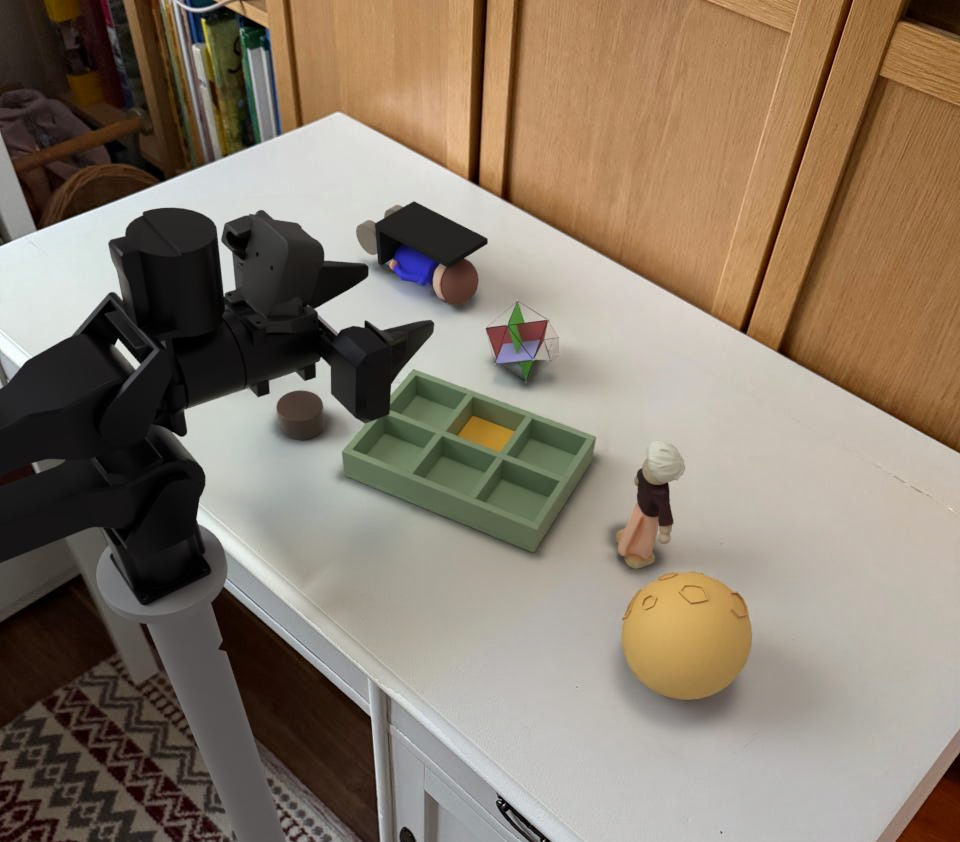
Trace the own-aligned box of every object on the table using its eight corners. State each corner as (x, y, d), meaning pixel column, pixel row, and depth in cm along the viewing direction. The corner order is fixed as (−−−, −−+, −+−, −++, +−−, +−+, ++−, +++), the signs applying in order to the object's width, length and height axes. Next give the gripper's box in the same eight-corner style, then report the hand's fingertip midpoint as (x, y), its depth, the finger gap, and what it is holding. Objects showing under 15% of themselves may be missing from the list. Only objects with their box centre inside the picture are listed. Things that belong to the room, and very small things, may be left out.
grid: (533, 553, 83) (536, 529, 81) (344, 475, 88) (341, 451, 85) (592, 460, 90) (596, 436, 88) (413, 393, 95) (413, 368, 92)
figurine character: (357, 277, 108) (452, 322, 101) (347, 212, 102) (447, 255, 95) (398, 254, 111) (493, 296, 104) (391, 189, 105) (491, 229, 98)
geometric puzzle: (462, 360, 95) (512, 315, 89) (480, 319, 99) (530, 274, 93) (514, 405, 98) (566, 365, 92) (530, 364, 101) (581, 323, 96)
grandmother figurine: (597, 529, 85) (620, 422, 75) (634, 518, 86) (662, 411, 76) (638, 591, 81) (668, 487, 71) (676, 579, 82) (712, 474, 72)
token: (294, 446, 90) (291, 427, 88) (271, 420, 92) (267, 401, 90) (333, 428, 91) (331, 409, 89) (310, 403, 93) (307, 384, 91)
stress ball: (754, 704, 75) (794, 631, 67) (643, 737, 73) (670, 666, 65) (697, 609, 80) (728, 531, 72) (592, 638, 78) (611, 560, 70)
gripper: (288, 320, 59) (481, 260, 66) (151, 187, 67) (336, 146, 74) (295, 456, 68) (465, 390, 75) (172, 324, 76) (336, 276, 83)
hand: (399, 297), depth 77 cm, fingers open, 9 cm apart
